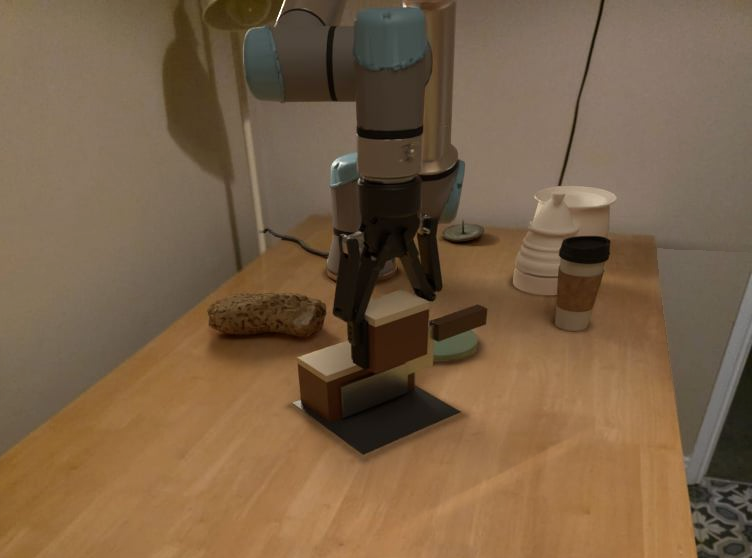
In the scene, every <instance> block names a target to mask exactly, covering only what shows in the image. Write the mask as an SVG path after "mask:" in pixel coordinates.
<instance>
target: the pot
mask: <svg viewBox="0 0 752 558" xmlns="http://www.w3.org/2000/svg"><path fill="white" fill-rule="evenodd" d="M553 191H562V192H565V197H564V199H563V201H564V202H565V203H566V205H567V207H568V209H569V211H570V214H571V217H572V220H573V221H575V222H577V223H578V224H579V226H580V229H579V231H578V232H577V233H575V235H576V236H602V237H605V238H607V239H608V235H609V230H610V220H611V219H610V218H611V216H610V215H611V213H610V212H611V211H610V210H611V205H614V204H615V203H616V202H617V199H618V198H617V196H616V194H615V193H613V192H611V191H609V190H606V189H602V188H600V187H599V188H598V187H593V186H582V185H558V186H550V187H545V188H542V189H539V190H537V191H536V192H535V193H534V199H535V200H536V201H538V203H537V206H536V209H535V212H534V217H533V220H534V219H535V217H536V216H537V214H538V213H539V211H540V210H541V208H542V207H543V206H544V205H545V203H546V202H548V201H549V200H550V199H552V198H551V192H553Z"/></svg>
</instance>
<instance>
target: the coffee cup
mask: <svg viewBox="0 0 752 558" xmlns="http://www.w3.org/2000/svg"><path fill="white" fill-rule="evenodd" d="M611 242H612V241H611V239H610V238H608V237H607V238H605V237H602V236H576V237H569V238H566V239H564V240H563V242H562V245H561V248H560V249H559V256H560V258H561V259H560V266H559V269H558V284H557V295H556V299H555V301H556V303H555V315H554V325H555V326H556V327H557V328H558V329H561V330H564V331H569V332H579V331H584V330H586V329H587V328H588V327H589V323H590V320H591V316H592V312H593V309H594V306H595V303H596V300H597V297H598V292H599V291H600V287H601V284H602V280H603V276H604V274H605V266H606V262H608V261H609V260H610V256H611V251H610V250H611Z"/></svg>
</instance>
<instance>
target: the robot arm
mask: <svg viewBox="0 0 752 558" xmlns="http://www.w3.org/2000/svg"><path fill="white" fill-rule="evenodd" d="M401 1H402V2H401V3H402V6H400V7H399V6H398V7H397V6H395V7H393V6H391V7H389V6H387V7H373V8H371V7H370V8H363V9H361V10H359V11H357V13H356V15H355V17H354V20H353V21H354V22H353V25H341V22H342V19H343V16H344V12H345V9H346V7H347V3H348V0H283V3H282V5H281V8H280V10H279V13H278V16H277V19H276V20H275V23H274V25H273V26H271V25H269V24H264V26H257V27H251V28H249V29H248V30H247V31H246V33H245V35H244V38H243V44H242V45H243V47H242V61H243V70H244V76H245V80H246V84H247V87H248V90H249V92H250V94H251V95H252V97H254V98H255V99H256V100H257V101H262V102H277V103H280V104H286V103H324V102H325V103H326V102H327V103H328V102H330V103H331V102H334V103H335V102H336V103H338V102H339V103H355V114H356V115H355V117H356V129H355V131H356V134H355V136H356V137H355V139H356V140H355V141H356V144H355V145H356V146H355V147H356V148H355V149H356V152H351V153H348V154H347V153H346V154H344V155H341V156H340V157H337V158H336V159H335V160H334V161H333V162H332V163H331V166H330V183H329V188H330V198H331V217H332V239H331V244H330V247H329V252H326V251H321V250H317V249H314V248H313V247H310V246H308V245H306V244H305V242H304V241H303V240H302V239H300V238H298V237H295V236H292V235H285V234H280V233H277V232H275V231H274V230H273V229H272V228H270V227H265V228H264V229H263V230H262V234H266V233H267V232H269V234H271V236H273V237H276V238H279V239H283V240H289V241H294V242H297V243H299V244H300V246H301V247H302V248H303V249H305V250H307V251H309V252H311V253H313V254H316V255H319V256H323V257H327V260H326V263H325V266H326V267H325V269H326V275H327V276H328V277H329V278H330V279H332V280H334V281H336V283H335V290H334V299H333V305H332V315H333V317H335V318H337V319H340V320H341V321H342V322H344V323H346V330H347V331H346V332H347V340H348V342H349V343H350V344H352V354H353V363H354V364H356V365H358V366H359V367H361V368H363V369H364V370H366V369H369V326H368V324H369V323H368V321H366V320H365V319H363V318H364V315H365V312H366V309H367V306H368V304H369V301H370V300H371V299H372V298H371V297H372V295H373V292H374V289H375V286H376V283H380V282H384V281H387V280H390V279H391V278H393V277H394V276H395V275H396V273H397V259H396V258H399V261H400V263H401V265H402V267H403V270H404V273H405V275H406V277H407V280H408V282H409V284H410V286H411V289H412V291H413V294H414V295H416V296H418V297H420V298H423V299H425V300H427V301H429V308H430V306H431V305H430V303H433V302H435V301H436V299H437V294H436V293H440V292H442V290H443V288H444V285H443V277H442V270H441V269H442V268H441V262H440V255H439V246H438V239H437V235H438V226H439V225H449V224H451V223H453V222H454V221H455V220H456V218H457V216H458V211H459V207H460V203H461V197H462V190H463V184H464V178H465V172H466V171H465V170H466V162H465V161H464V160H461V159H460V158H459V152H458V149H457V147H456V146H454V145H453V144H452V121H453V101H454V97H453V96H454V77H455V75H454V72H455V47H456V26H457V25H456V23H457V2H458V0H401ZM415 237H416V239H417V245H416V243H415V240H414V239H415ZM417 246H418V247H417ZM355 310H356V311H355Z"/></svg>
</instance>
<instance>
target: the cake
mask: <svg viewBox="0 0 752 558" xmlns="http://www.w3.org/2000/svg"><path fill="white" fill-rule="evenodd" d="M296 360H297V370H298V371H297V372H298V373H297V374H298V385H299V395H300V396H299V397H300V400H301V403H302V404H303V405H305V406H306V407H307V408H309V409H310V410H312V411H313V412H314V413H316V414H317V415H319V416H320V417H321V418H323V419H324V420H325V421H327V422H328V423H331V422H334V421H336V420H339V419H341V418H342V410H341V390H340V386H343V385H345V384H348V383H351V382H353V381H356V380H359V379H361V378H364V377H367V376H370V375H372V374H375V373H374V372H372V371H370V370H369V369H366V370H364V369H363V368H361V367H359V366H358V365H356V364H354V363H353V360H352V359H351V344H350V343H349V342H348V339H347V340H345V341H341V342H339V343H335V344H332V345H330V346H327V347H324V348H321V349H317V350H315V351H312V352H311V351H310V352H308V353H306V354H303V355H300V356H297V357H296ZM415 375H416V372H414V373H411V374H409V375H408V381H407V392H409V391H411V390H414V385H415V380H416V379H415Z"/></svg>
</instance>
